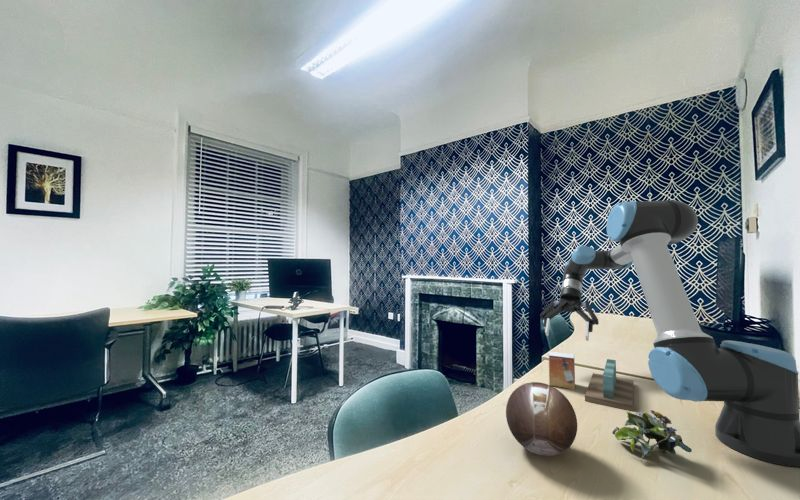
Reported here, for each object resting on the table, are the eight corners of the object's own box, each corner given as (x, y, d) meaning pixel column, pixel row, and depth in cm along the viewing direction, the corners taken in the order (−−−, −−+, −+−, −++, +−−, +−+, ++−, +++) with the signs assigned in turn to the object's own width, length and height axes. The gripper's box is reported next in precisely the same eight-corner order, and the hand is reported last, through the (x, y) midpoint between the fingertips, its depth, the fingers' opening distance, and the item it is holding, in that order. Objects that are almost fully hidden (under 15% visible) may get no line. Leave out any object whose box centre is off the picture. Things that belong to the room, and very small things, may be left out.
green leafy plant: (662, 475, 73) (704, 444, 68) (640, 484, 67) (683, 450, 63) (619, 427, 82) (653, 397, 77) (596, 431, 76) (631, 399, 72)
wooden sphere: (514, 469, 68) (512, 396, 68) (501, 431, 82) (500, 372, 83) (590, 474, 66) (588, 399, 66) (563, 434, 80) (561, 374, 81)
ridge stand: (632, 411, 92) (631, 382, 93) (584, 400, 99) (584, 374, 100) (633, 384, 112) (632, 360, 112) (593, 377, 119) (592, 355, 119)
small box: (549, 385, 112) (548, 355, 112) (549, 380, 116) (549, 351, 117) (575, 389, 108) (574, 358, 108) (575, 384, 113) (574, 353, 113)
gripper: (607, 300, 129) (606, 346, 116) (540, 296, 143) (533, 337, 131) (606, 287, 125) (604, 334, 112) (537, 285, 139) (529, 326, 127)
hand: (566, 336), depth 121 cm, fingers open, 13 cm apart
